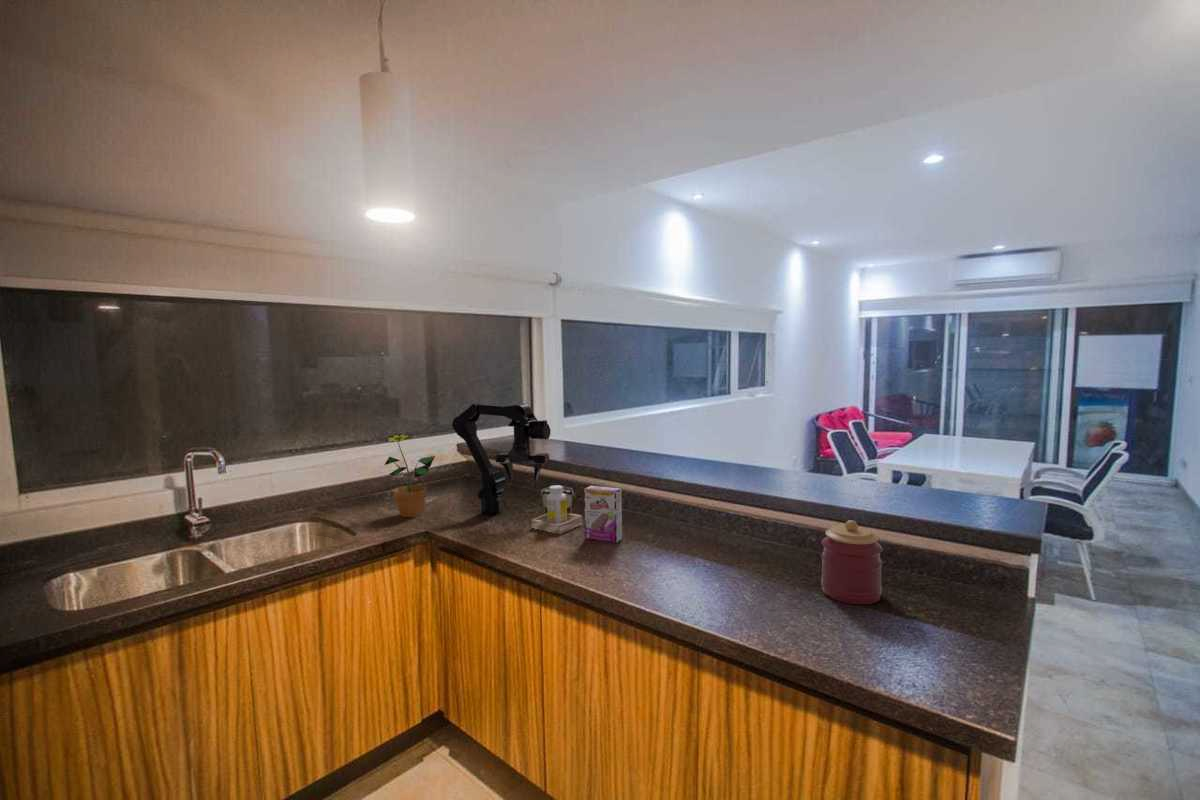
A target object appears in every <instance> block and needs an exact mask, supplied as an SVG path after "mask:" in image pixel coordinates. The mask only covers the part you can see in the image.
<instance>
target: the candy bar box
mask: <svg viewBox="0 0 1200 800" xmlns="http://www.w3.org/2000/svg"><path fill="white" fill-rule="evenodd" d="M622 491H623V490H622V488H619V487H618V488H617V487H610V486H609V487H608V486H600V485H599V486H597V485H589V486H587V487H584V489H583V494H584V495H583V500H584V538H585V540H590V541H591V540H592V541H598V542H605V543H611V544H618V543H619V542H620V541H621V540H623V510H622V509H623V503H622V498H623V495H622V494H623V492H622Z"/></svg>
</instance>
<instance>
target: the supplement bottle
mask: <svg viewBox="0 0 1200 800" xmlns="http://www.w3.org/2000/svg"><path fill="white" fill-rule="evenodd" d="M549 491H550V494H548V495H547V517H548V522H550V523H555V524H562V523H565V522H567V505H566V495H565V494H564V493H563V492H562V491H563V486H562V485H558V484H557V485H556V484H555V485H550V486H549Z"/></svg>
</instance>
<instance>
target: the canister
mask: <svg viewBox="0 0 1200 800" xmlns="http://www.w3.org/2000/svg"><path fill="white" fill-rule="evenodd" d="M824 533H825V536H826V537H824V538H823V539H822V540H821V545H822V546H823V552H822V553H821V558H822V559H821V560H822V561H821V579H820V582H821V583H820V586H821V588H822V589H821V590H822V592H823V594H825V595H826V596H827V597H829V598H831V599H833V600H835V601H838V602H842V603H845V604H851V605H871V604H874V603H877V602H879V601H880V600H881V596H882V593H883V592H882V591H883V590H882V589H883V587H882V566H883V562H882V559H881V555H880V554H881V553H882V552H883V547H882V545H881V544H880V543H879V542H878V541H879V539H880V538H879V536H878V535H877V534H875V533H874V532H872V530H870V529H869V528H866V527H863V526H859V525H858V523H857V522H856V521H855V520H852V519H849V520H847V521H846V522H845V524H837V525H833V526H832V527H831V528H828V529H827V530H825V532H824Z"/></svg>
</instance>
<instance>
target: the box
mask: <svg viewBox="0 0 1200 800" xmlns="http://www.w3.org/2000/svg"><path fill="white" fill-rule="evenodd" d="M530 521H531V523H530V524H531V529H532V528H534V529H533V530H537V529H539V530H538V531H542V530H543V532H546V531H547V533H551V532H552V534H556V533H557V535H562V533H563V534H565V533H567V532H569V531H572V530H573V529H575V527H576V528H577V527H580V526H583V524H584V523H583V515H581V514H574V513H571V514H570V513H567V522H565V523H562V524H555V523H550V522H548V517H547V514H545V513H544V514H543V515H540V516H538V517H534V518H532V519H531V520H530ZM564 532H565V533H564Z"/></svg>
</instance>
